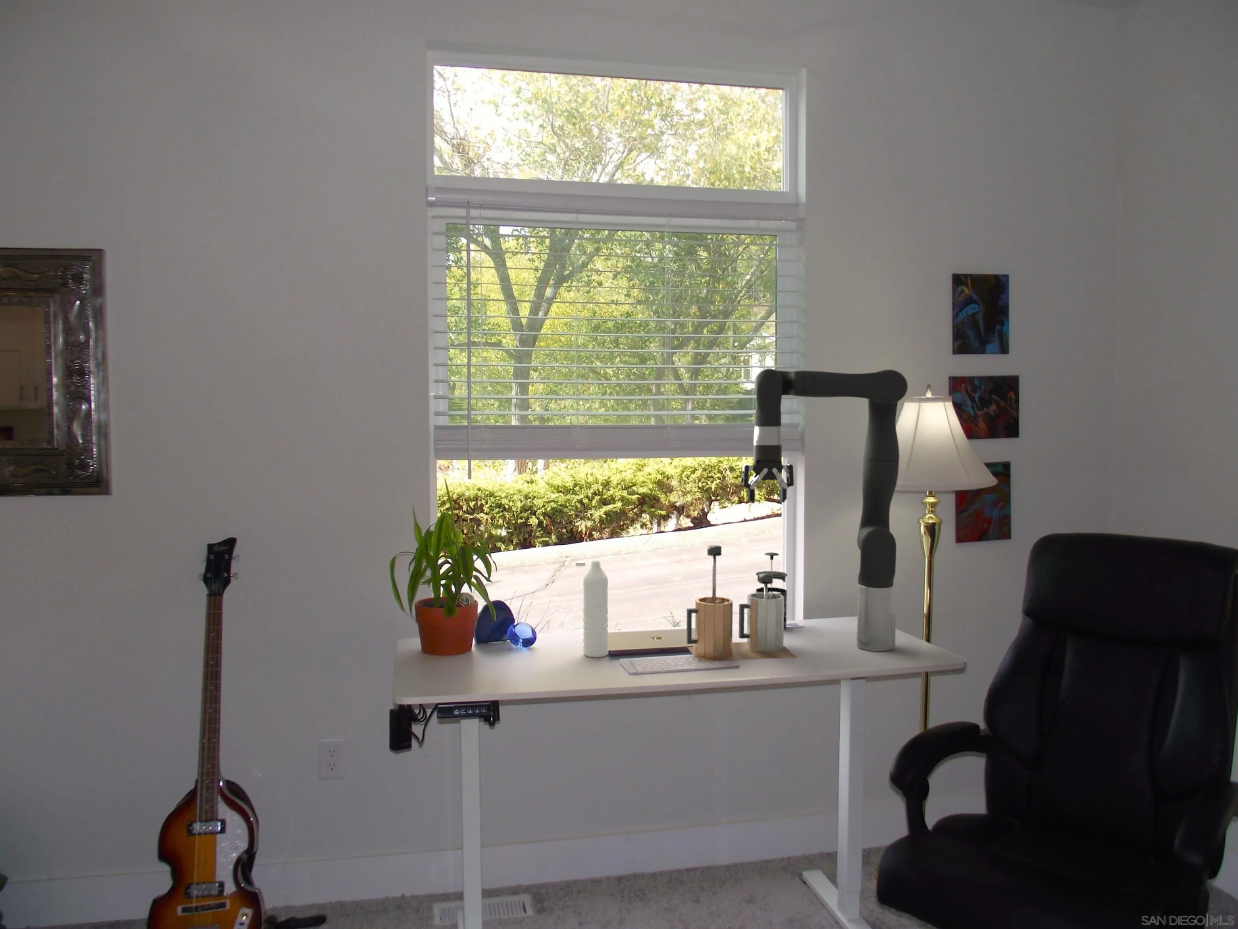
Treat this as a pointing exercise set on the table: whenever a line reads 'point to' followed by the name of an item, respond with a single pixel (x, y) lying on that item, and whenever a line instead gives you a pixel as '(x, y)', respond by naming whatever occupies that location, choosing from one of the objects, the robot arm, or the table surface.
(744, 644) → the board
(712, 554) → the black knob plunger
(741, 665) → the table surface
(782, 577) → the french press
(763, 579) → the steel plunger
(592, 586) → the water bottle
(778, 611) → the steel carafe
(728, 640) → the copper carafe
